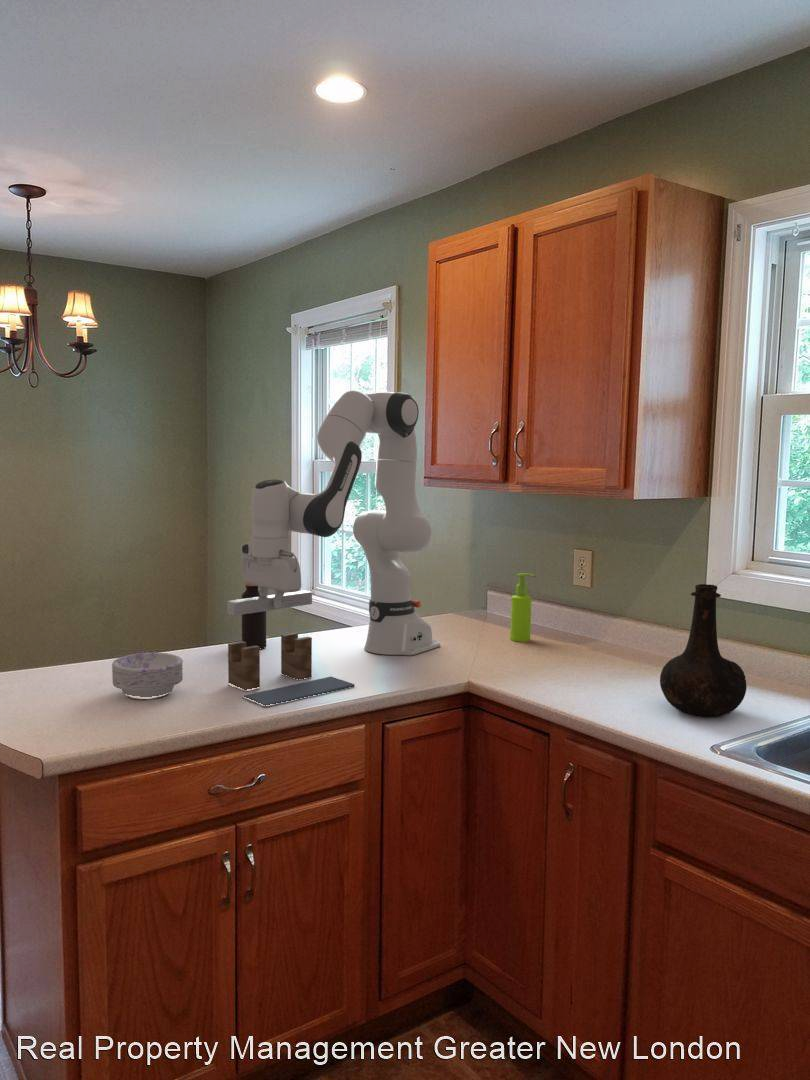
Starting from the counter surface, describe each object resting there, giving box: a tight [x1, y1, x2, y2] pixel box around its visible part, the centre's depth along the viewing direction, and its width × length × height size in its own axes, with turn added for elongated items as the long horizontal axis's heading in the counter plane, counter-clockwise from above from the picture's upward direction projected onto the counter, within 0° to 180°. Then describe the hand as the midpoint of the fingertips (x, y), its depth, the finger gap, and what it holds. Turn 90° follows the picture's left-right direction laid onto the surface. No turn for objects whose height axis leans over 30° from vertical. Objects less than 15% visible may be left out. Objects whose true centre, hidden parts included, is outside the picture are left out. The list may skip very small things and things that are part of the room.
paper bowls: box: [111, 652, 184, 697], centre depth 188 cm, size 15×15×8 cm
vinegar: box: [241, 582, 267, 649], centre depth 233 cm, size 7×7×20 cm
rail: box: [226, 589, 313, 616], centre depth 198 cm, size 22×3×3 cm, turn 133°
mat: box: [242, 676, 356, 706], centre depth 192 cm, size 25×9×1 cm, turn 133°
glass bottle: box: [659, 583, 747, 719], centre depth 180 cm, size 18×18×28 cm
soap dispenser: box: [509, 572, 536, 643], centre depth 249 cm, size 6×7×20 cm
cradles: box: [227, 632, 313, 690], centre depth 200 cm, size 19×7×10 cm, turn 133°
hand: (271, 606), depth 199 cm, fingers closed on rail, 3 cm apart
